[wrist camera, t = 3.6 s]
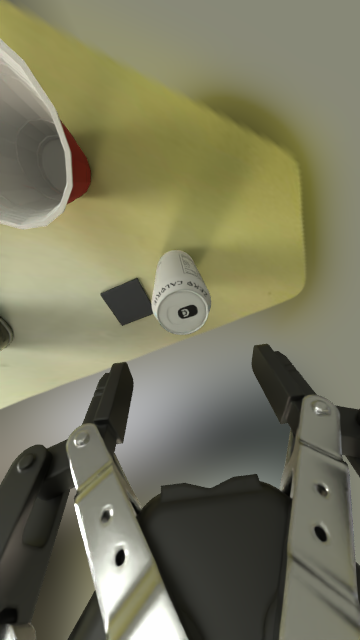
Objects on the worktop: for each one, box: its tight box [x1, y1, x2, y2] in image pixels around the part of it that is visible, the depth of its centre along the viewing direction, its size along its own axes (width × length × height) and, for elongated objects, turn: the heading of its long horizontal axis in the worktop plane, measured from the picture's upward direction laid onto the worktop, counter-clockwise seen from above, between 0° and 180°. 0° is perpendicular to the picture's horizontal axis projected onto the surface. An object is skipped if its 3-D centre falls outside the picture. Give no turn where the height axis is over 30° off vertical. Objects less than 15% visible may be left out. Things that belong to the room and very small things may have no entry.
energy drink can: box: [151, 250, 211, 335], centre depth 23 cm, size 6×6×15 cm
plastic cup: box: [0, 39, 91, 229], centre depth 17 cm, size 11×11×12 cm
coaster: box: [100, 278, 153, 326], centre depth 32 cm, size 7×7×1 cm
